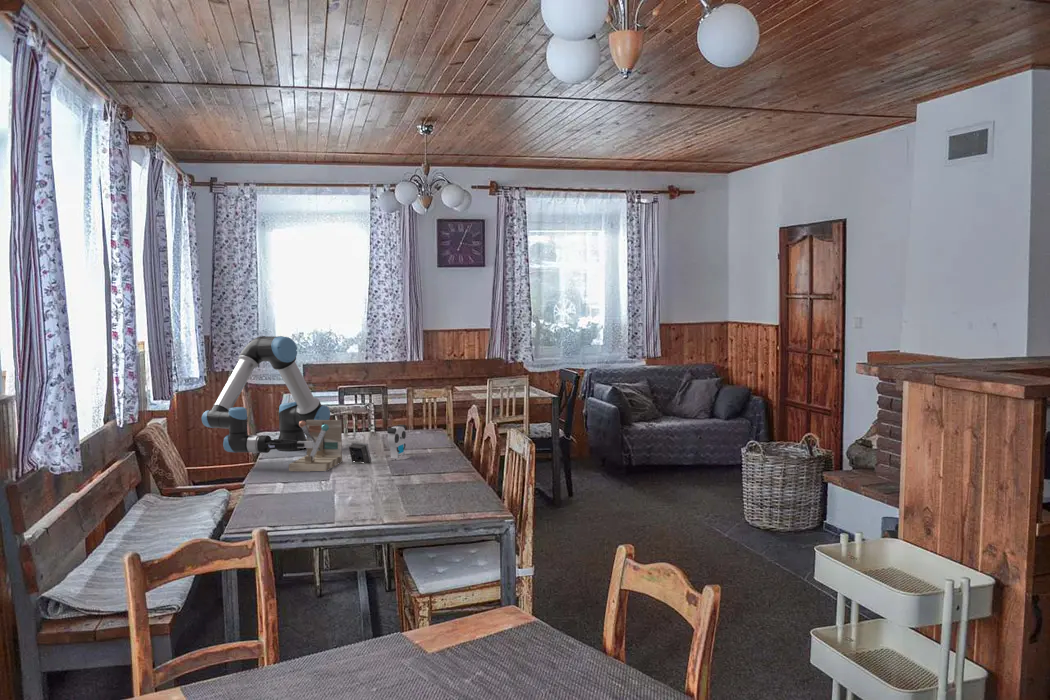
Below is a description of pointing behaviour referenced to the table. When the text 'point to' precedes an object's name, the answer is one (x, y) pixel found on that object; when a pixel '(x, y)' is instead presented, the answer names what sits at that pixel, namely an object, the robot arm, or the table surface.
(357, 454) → the electrical switch
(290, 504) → the table surface
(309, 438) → the terracotta lever
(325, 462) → the switch unit
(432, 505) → the table surface
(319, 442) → the teal lever
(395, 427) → the panda figurine
